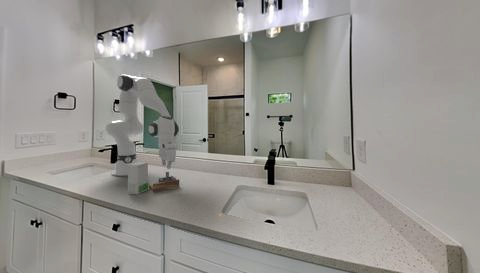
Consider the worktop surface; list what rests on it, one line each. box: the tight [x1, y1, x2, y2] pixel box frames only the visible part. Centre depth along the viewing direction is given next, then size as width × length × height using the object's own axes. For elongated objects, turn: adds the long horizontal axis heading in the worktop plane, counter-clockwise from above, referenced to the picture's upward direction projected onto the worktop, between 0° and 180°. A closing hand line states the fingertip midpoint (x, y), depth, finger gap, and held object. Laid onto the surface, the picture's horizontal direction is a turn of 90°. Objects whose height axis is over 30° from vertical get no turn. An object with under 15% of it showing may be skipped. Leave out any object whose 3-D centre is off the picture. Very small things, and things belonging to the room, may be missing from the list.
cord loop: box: [157, 175, 177, 183], centre depth 106 cm, size 6×8×3 cm
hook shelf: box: [148, 171, 180, 193], centre depth 105 cm, size 12×14×8 cm
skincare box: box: [127, 161, 149, 195], centre depth 97 cm, size 8×7×16 cm
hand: (166, 166), depth 106 cm, fingers open, 8 cm apart
